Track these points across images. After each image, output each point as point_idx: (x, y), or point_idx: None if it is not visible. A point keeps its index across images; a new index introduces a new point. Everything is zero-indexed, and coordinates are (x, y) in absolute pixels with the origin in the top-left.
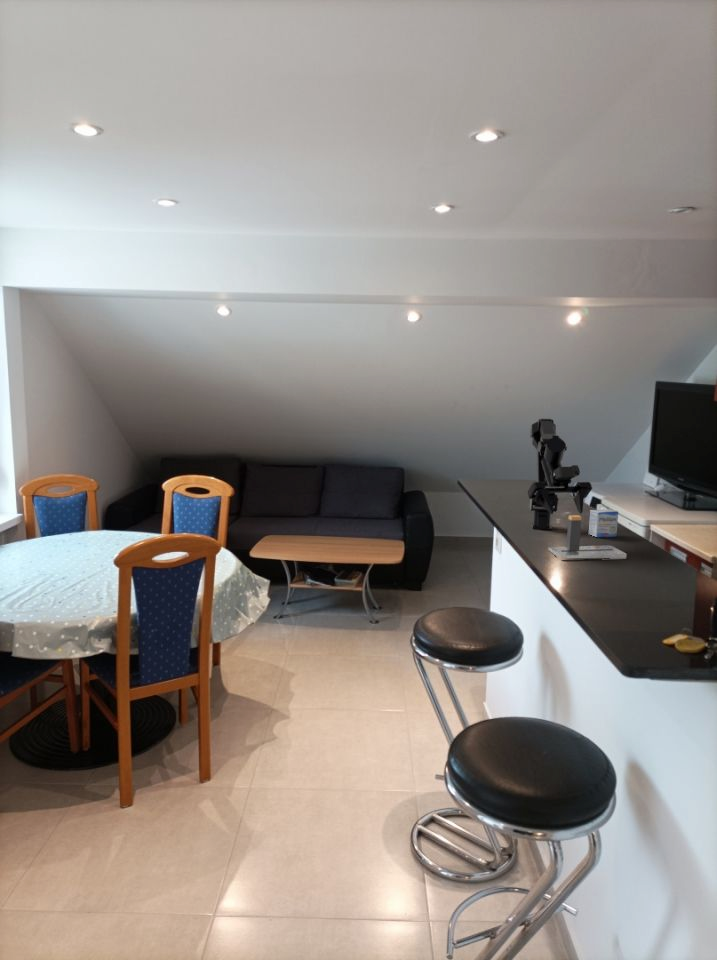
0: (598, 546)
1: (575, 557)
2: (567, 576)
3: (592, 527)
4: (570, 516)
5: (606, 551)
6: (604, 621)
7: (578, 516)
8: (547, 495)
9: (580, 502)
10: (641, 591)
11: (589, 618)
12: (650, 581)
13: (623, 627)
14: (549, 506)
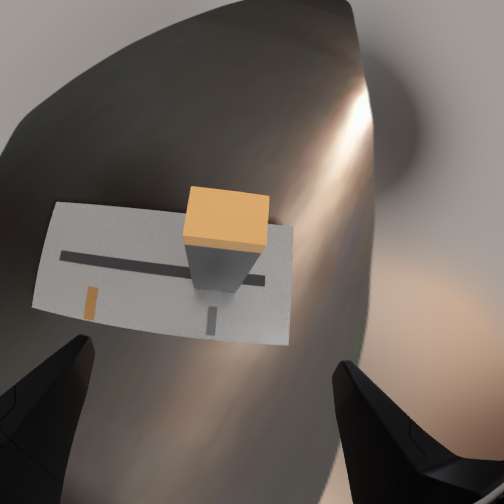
0: (77, 308)
1: None
2: (328, 123)
3: None
4: (267, 216)
5: (93, 239)
6: (338, 23)
7: (206, 201)
8: (435, 470)
9: (41, 390)
10: (221, 43)
11: (352, 32)
12: (159, 68)
13: (323, 13)
14: (382, 393)
